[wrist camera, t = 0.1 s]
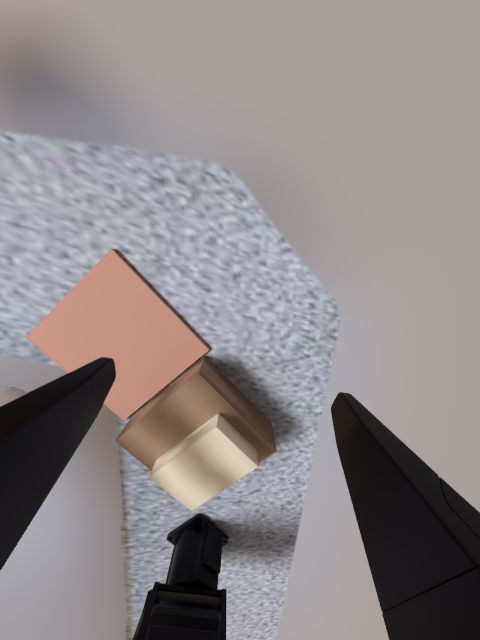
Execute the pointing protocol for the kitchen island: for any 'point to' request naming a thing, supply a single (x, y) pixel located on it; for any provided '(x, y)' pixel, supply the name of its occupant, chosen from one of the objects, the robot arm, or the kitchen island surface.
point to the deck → (194, 415)
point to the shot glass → (10, 394)
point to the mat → (119, 333)
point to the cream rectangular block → (205, 463)
